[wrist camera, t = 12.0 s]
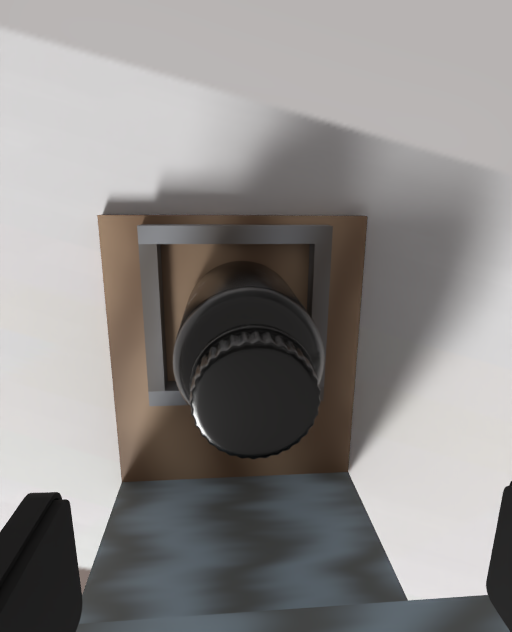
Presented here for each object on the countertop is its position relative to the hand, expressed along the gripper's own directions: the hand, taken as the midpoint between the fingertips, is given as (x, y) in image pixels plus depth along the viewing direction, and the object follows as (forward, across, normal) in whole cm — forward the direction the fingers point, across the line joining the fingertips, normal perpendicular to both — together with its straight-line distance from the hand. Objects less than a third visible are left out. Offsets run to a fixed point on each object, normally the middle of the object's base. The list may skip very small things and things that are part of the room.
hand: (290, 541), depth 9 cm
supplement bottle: (+18, +1, 0) cm, 19 cm away
